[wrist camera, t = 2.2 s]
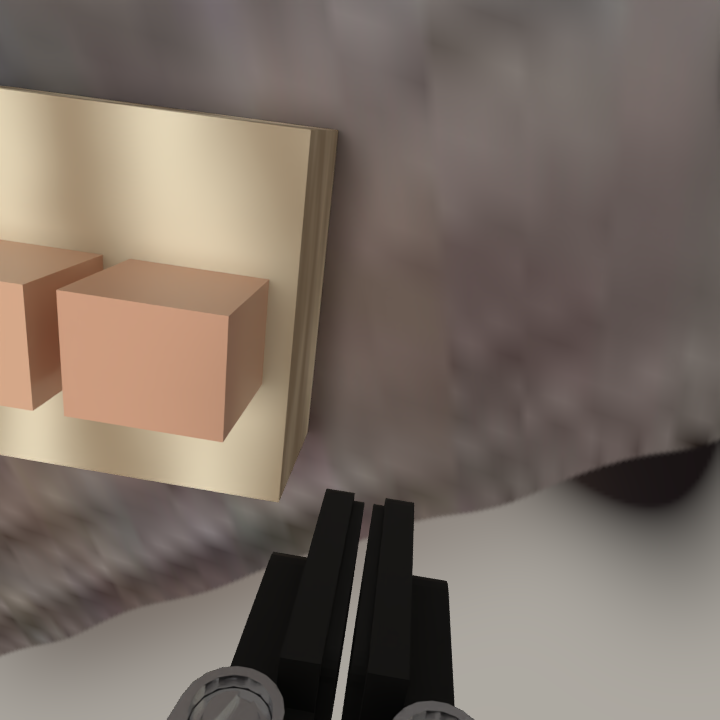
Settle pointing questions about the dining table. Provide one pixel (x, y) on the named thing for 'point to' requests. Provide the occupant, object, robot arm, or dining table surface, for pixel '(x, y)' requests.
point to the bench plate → (176, 260)
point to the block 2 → (162, 347)
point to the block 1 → (34, 318)
